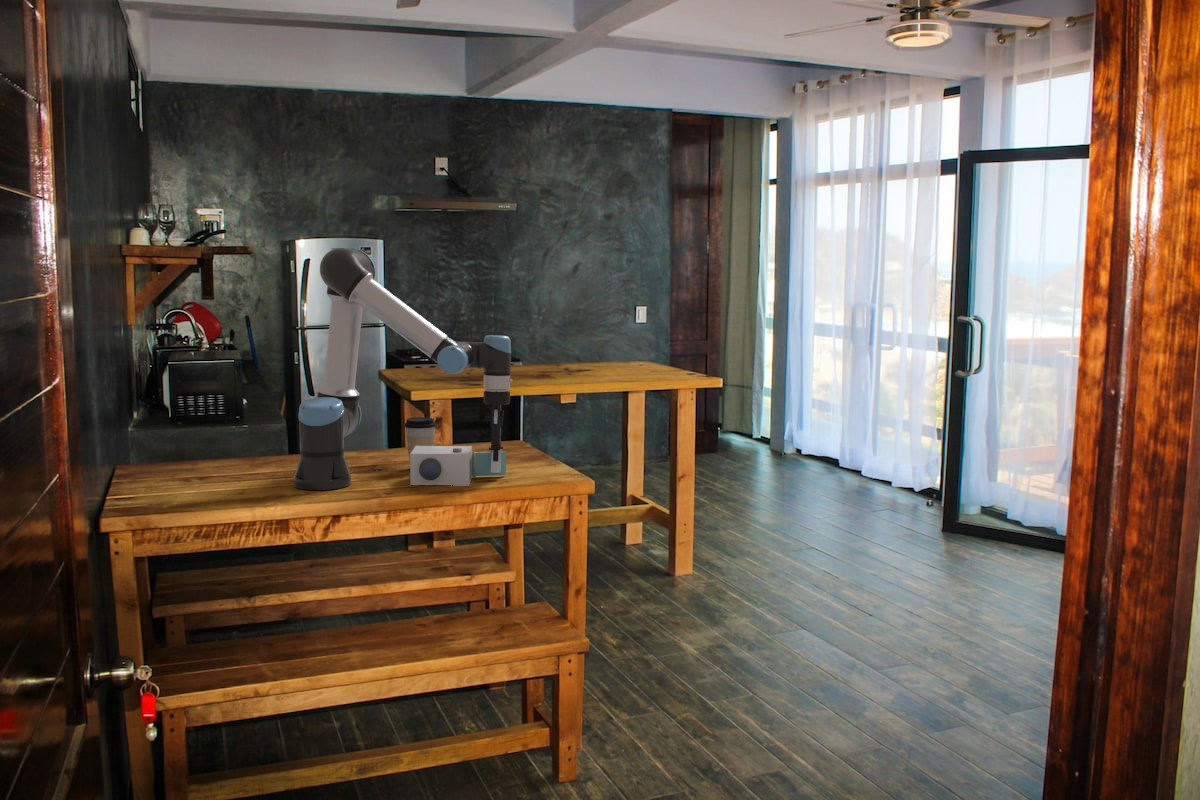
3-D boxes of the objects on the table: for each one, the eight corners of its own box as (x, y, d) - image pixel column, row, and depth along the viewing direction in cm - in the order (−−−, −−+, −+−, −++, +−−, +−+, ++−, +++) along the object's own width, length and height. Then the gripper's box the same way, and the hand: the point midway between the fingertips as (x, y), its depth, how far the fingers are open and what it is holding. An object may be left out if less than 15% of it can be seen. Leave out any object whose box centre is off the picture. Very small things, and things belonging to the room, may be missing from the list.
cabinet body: (409, 486, 270) (409, 451, 268) (415, 476, 283) (415, 443, 281) (469, 487, 271) (469, 451, 269) (472, 476, 284) (472, 443, 282)
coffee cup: (429, 472, 288) (429, 422, 286) (399, 471, 290) (398, 420, 288) (441, 466, 297) (440, 417, 295) (411, 464, 299) (411, 416, 297)
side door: (472, 477, 282) (472, 452, 281) (471, 475, 284) (471, 451, 283) (505, 476, 284) (506, 451, 283) (505, 474, 286) (505, 450, 285)
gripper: (509, 392, 273) (507, 476, 275) (511, 388, 285) (509, 468, 288) (482, 392, 272) (480, 476, 275) (485, 387, 285) (483, 468, 287)
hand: (495, 472), depth 281 cm, fingers closed
